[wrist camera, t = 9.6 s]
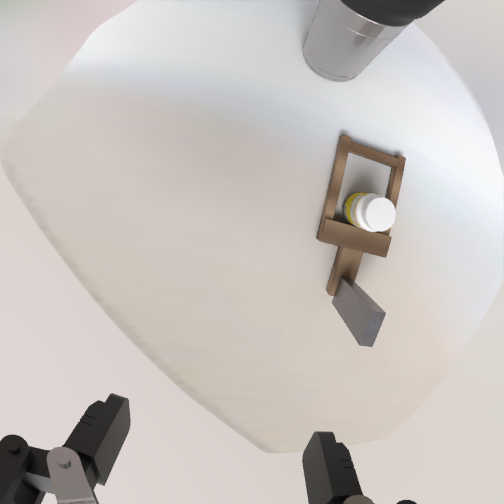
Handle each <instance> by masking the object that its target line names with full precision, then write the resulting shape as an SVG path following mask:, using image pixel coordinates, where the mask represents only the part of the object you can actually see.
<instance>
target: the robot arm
mask: <svg viewBox="0 0 504 504" xmlns="http://www.w3.org/2000/svg"><path fill="white" fill-rule="evenodd" d="M443 1H444V0H321V1H320V3H319V6H318V9H317V11H316V14H315V16H314V19H313V22H312V24H311V27H310V30H309V32H308V35H307V37H306V40H305V43H304V47H303V54H304V58H305V60H306V62H307V64H308V65H309V66H310V68H311V69H312V70H313V71H314V72H316V73H317V74H318V75H320V76H322V77H324V78H326V79H329V80H333V81H348V80H351V79H353V78H355V77H356V76H357V75H358V74H359V73H360V72H361V71H362V70H363V69H364V68H365V67H366V66H367V65H368V64H369V63H370V62H371V61H372V60H373V59H374V58H375V57H376V56H377V55H378V54H379V53H380V52H381V51H382V50H383V49H384V48H385V47H386V46H387V45H388V44H389V43H390V42H392V41H393V40H394V39H395V38H396V37H397V36H398V35H399V34H400V33H401V32H402V31H403V30H404V29H405V28H406V27H407V26H408V25H409V24H410V23H411V22H412V21H413V20H414V19H418V18H421V17H423V16H425V15H426V14H427V13H429V12H430V11H431V10H432V9H434V8H435V7H436V6H438V5H439V4H440V3H442V2H443ZM129 429H130V411H129V400H128V398H124V397H121V396H118V395H115V394H113V393H112V394H110V395H109V397H108V399H107V400H106V402H102V401H99V400H98V401H96V402H95V403H93V404H92V405H90V406H89V407H88V409H87V410H86V412H85V413H84V415H83V416H82V418H81V419H80V422H78V424H77V425H76V427H75V429H74V430H73V432H72V433H71V435H70V436H69V438H68V439H67V441H66V443H65V444H64V445H63V446H62V447H57V448H54V449H52V450H43V449H39V448H35V447H30V446H28V444H27V442H26V441H25V440H24V439H23V438H22V437H20V436H18V435H8V436H5V437H4V438H3V439H2V440H1V441H0V504H41V502H42V500H43V498H44V496H45V494H46V492H48V493H52V494H55V496H56V499H57V503H58V504H99V502H98V500H97V497H96V495H95V492H94V487H95V486H96V484H97V483H98V484H101V485H103V486H104V485H105V483H106V481H107V479H108V476H109V474H110V472H111V470H112V467H113V465H114V463H115V461H116V459H117V456H118V454H119V452H120V450H121V447H122V445H123V443H124V441H125V439H126V437H127V434H128V432H129ZM302 463H303V469H304V475H305V481H306V488H307V495H308V501H309V504H374V503H373V502H372V500H371V499H369V498H368V497H366V496H364V495H363V493H362V491H361V487H360V484H359V481H358V478H357V475H356V471H355V469H354V465H353V462H352V461H351V456H350V453H349V450H348V449H347V448H346V447H345V446H344V444H343V443H336V440H335V436H334V434H333V432H317V431H316V432H314V434H313V436H312V438H311V439H310V441H309V443H308V445H307V447H306V449H305V451H304V453H303V460H302ZM397 504H416V503H415V502H413V501H411V500H402V501H399V502H398V503H397Z"/></svg>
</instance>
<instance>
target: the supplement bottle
mask: <svg viewBox="0 0 504 504" xmlns="http://www.w3.org/2000/svg"><path fill="white" fill-rule="evenodd" d="M342 212H343V216H344V218H345V219H346V221H347V222H348V223H350V224H351V225H354V226H356V227H359V228H362V229H364V230H367V231H370V232H376V231H386V230H388V229H389V228H390V227H391V226H392V225H393V223H394V221H395V218H396V210H395V207H394V205H393V203H392V202H391V201H390V200H389V199H387V198H385V197H382V196H381V195H379V194H375V193H353V194H351V195H349V196H348V197H347V198H346V199H345V201H344V203H343V207H342Z"/></svg>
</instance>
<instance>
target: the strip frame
mask: <svg viewBox="0 0 504 504" xmlns="http://www.w3.org/2000/svg"><path fill="white" fill-rule="evenodd" d="M350 141H351V137H348V136H345V135H342V136H340V138H339V143H338V148H337V153H336V157H335V162H334V167H333V171H332V176H331V180H330V185H329V189H328V193H327V197H326V202H325V206H324V210H323V214H322V218H321V222H320V226H319V230H318V234H317V239H318V240H319V241H321V242H325V243H329V244H333V245H337V246H339V248H338V252H337V255H336V259H335V262H334V266H333V269H332V273H331V276H330V279H329V283H328V286H327V289H326V291H327V292H328V294H329V295H331V296H334V298H333V301H332V304H333V305H334V307H335V308H336V310H337V311H338V313H339V314H340V316H341V317H342V319H343V320H344V322H345V324H346V325H347V327H348V328H349V330H350V331H351V333H352V334H353V336H354V338H355V339H356V341H357V342H358V344H359V345H361V346H369V347H372V346H373V344H374V342H375V339H376V337H377V334H378V332H379V330H380V327H381V325H382V322H383V319H384V317H385V314H386V313H385V312H384V311H383V310H382V309H381V308H380V307H379V306H378V305H377V304H376V303H375V302H374V301H373V300H372V299H371V298H370V297H369V296H368V295H367V294H366V293H365V292H364V291H363V290H362V289H361V288H360V287H359V286H358V285H357V284H356V283H355V282H354V281H355V278H356V274H357V271H358V268H359V265H360V261H361V258H362V254H363V252H365V253H369V254H373V255H377V256H381V257H385V258H386V256H387V252H388V249H389V245H390V242H391V238H392V237H390V236H389V233H390V229H391V227H390V228H389V229H388V230H386V231H378V232H370V231H367V230H364V229H362V228H359V227H356V226H354V225H350V224H346V223H343V222H339V221H335V220H333V217H334V213H335V209H336V205H337V201H338V197H339V193H340V188H341V184H342V179H343V175H344V170H345V166H346V161H347V156H348V152H350V153H353V154H356V155H359V156H362V157H365V158H368V159H371V160H373V161H376V162H379V163H382V164H385V165H387V166H390V167H392V171H391V176H390V181H389V186H388V191H387V195H386V198H387V199H389V200H390V201H391V202H392V203H393V205H394V207H395V209H396V204H397V200H398V196H399V191H400V186H401V181H402V176H403V171H404V166H405V160H406V158H405V157H403V156H400V155H396V156H394V157H392V156H390V155H387V154H384V153H382V152H379V151H376V150H374V149H371V148H368V147H365V146H362V145H359V144H356V143H353V142H350Z"/></svg>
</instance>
